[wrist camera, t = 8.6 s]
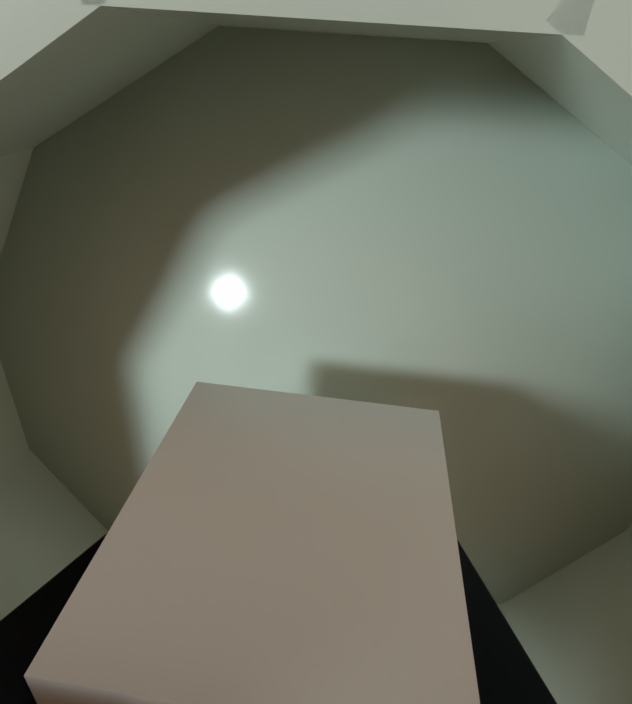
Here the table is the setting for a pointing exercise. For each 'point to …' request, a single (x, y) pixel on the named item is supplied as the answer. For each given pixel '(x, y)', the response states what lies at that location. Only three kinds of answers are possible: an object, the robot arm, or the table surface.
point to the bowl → (331, 268)
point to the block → (274, 565)
